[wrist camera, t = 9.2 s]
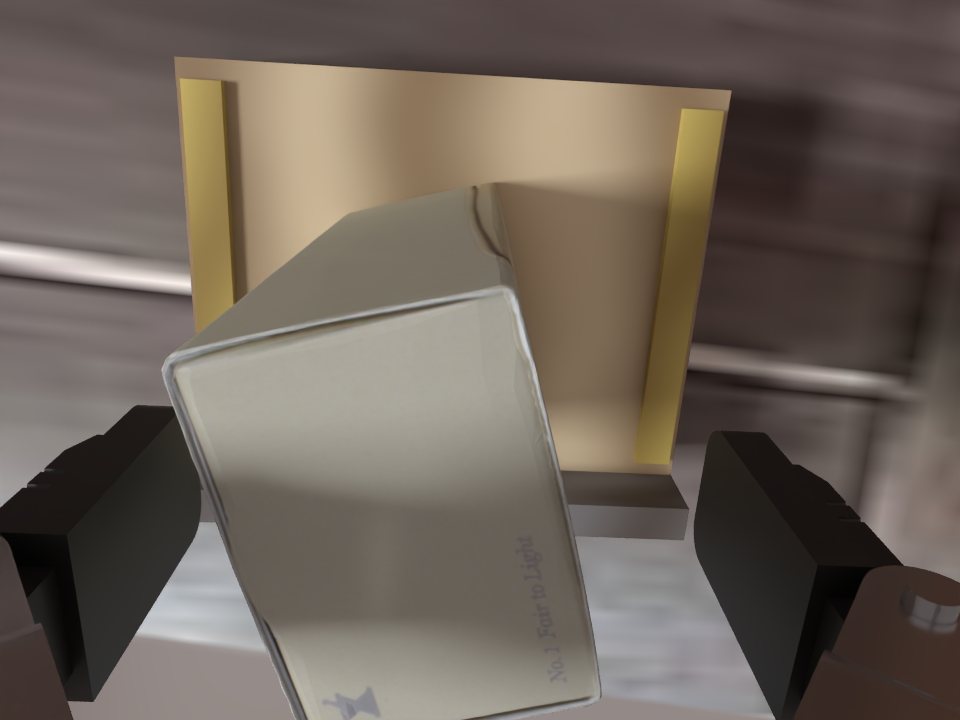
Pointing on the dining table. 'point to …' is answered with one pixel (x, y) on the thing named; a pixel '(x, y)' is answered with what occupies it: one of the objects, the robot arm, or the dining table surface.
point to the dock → (528, 221)
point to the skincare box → (393, 473)
